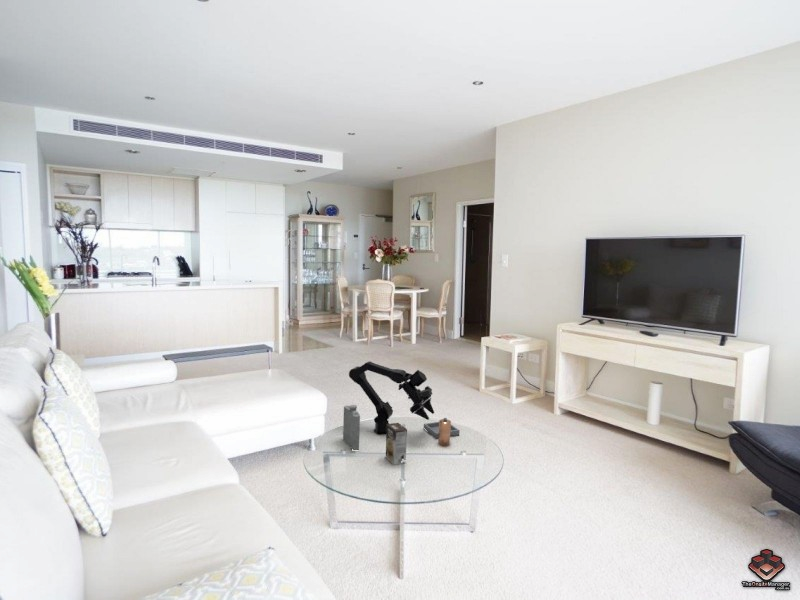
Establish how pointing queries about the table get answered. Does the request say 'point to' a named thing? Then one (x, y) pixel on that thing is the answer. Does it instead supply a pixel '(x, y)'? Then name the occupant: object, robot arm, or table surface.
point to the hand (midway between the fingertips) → (431, 416)
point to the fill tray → (434, 429)
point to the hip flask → (351, 426)
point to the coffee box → (396, 443)
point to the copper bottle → (444, 432)
